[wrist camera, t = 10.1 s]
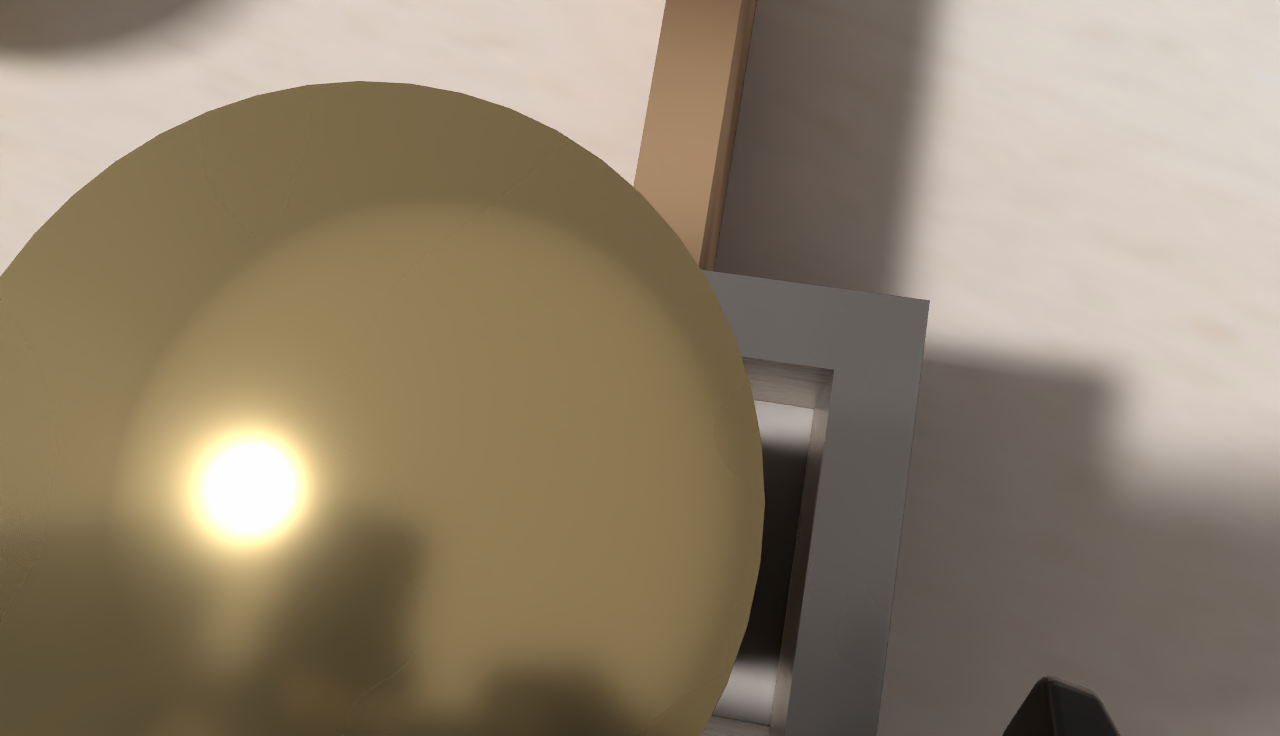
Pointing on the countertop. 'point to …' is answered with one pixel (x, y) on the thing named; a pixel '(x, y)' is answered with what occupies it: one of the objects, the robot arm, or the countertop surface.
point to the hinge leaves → (694, 118)
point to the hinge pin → (369, 438)
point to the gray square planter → (834, 485)
